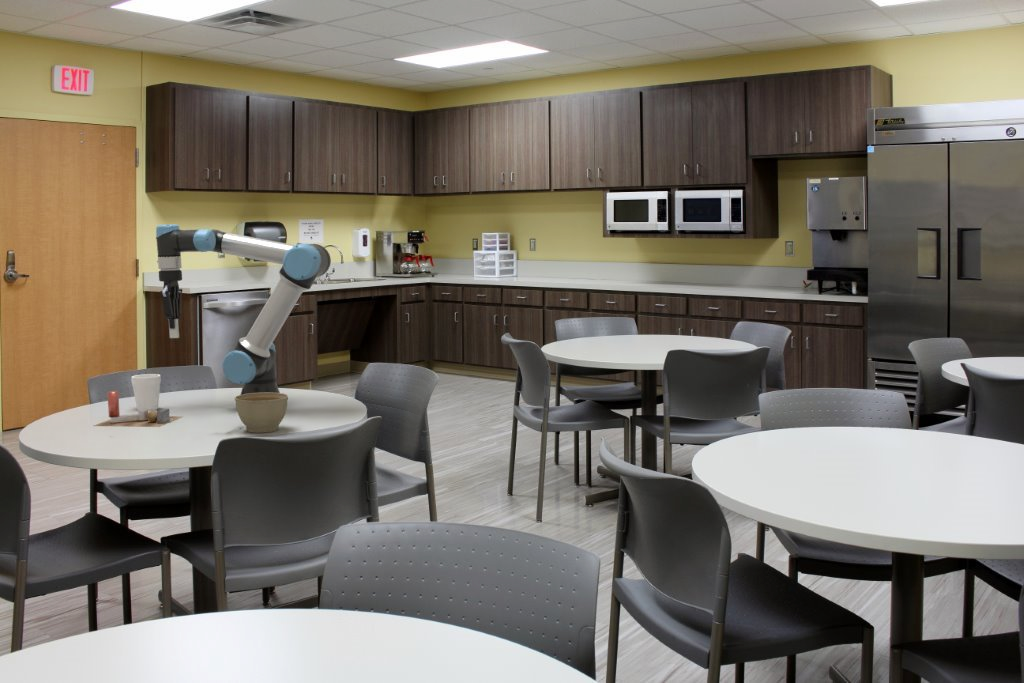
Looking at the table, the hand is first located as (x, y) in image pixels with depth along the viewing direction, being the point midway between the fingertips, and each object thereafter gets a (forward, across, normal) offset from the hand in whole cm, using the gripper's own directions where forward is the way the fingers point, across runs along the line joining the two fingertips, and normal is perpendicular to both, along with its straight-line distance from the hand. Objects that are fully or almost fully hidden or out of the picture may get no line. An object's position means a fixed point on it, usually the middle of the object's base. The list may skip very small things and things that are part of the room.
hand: (174, 337), depth 328 cm
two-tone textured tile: (+25, +27, +6) cm, 37 cm away
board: (+26, +25, -2) cm, 36 cm away
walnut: (+23, +27, +3) cm, 35 cm away
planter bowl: (+27, +31, +40) cm, 58 cm away
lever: (+24, +25, -3) cm, 34 cm away
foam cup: (+26, +3, -10) cm, 28 cm away
